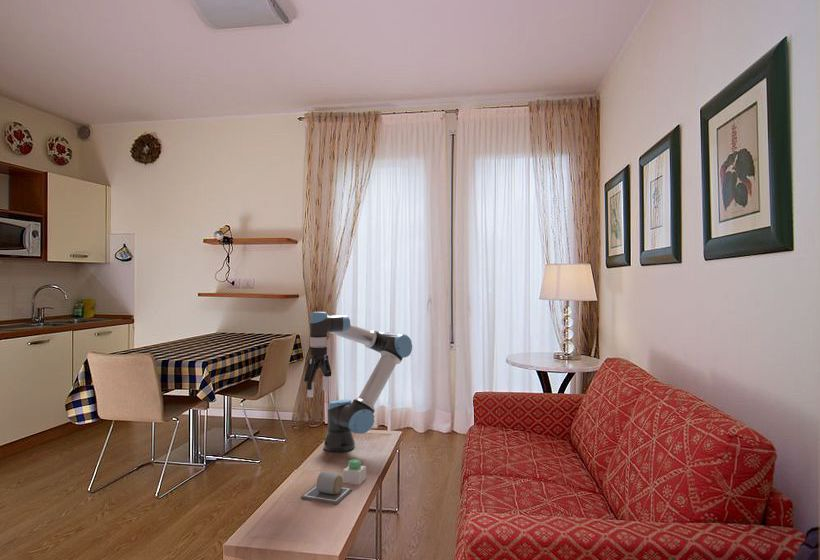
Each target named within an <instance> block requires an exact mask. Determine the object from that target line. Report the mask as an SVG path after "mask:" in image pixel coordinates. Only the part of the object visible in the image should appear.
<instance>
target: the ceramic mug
mask: <svg viewBox="0 0 820 560" xmlns="http://www.w3.org/2000/svg"><path fill="white" fill-rule="evenodd" d="M343 485H344V482H343V475H340V474H338V473H334V472H330V471H327V470H322V471H320V473H319V474H318V476H317V479H316V484H315V486H316V488H317V491H318V492H322V493H328V494H333V495H334V494H338V493H339V492H340V491H341V489H342V487H344V486H343Z"/></svg>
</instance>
